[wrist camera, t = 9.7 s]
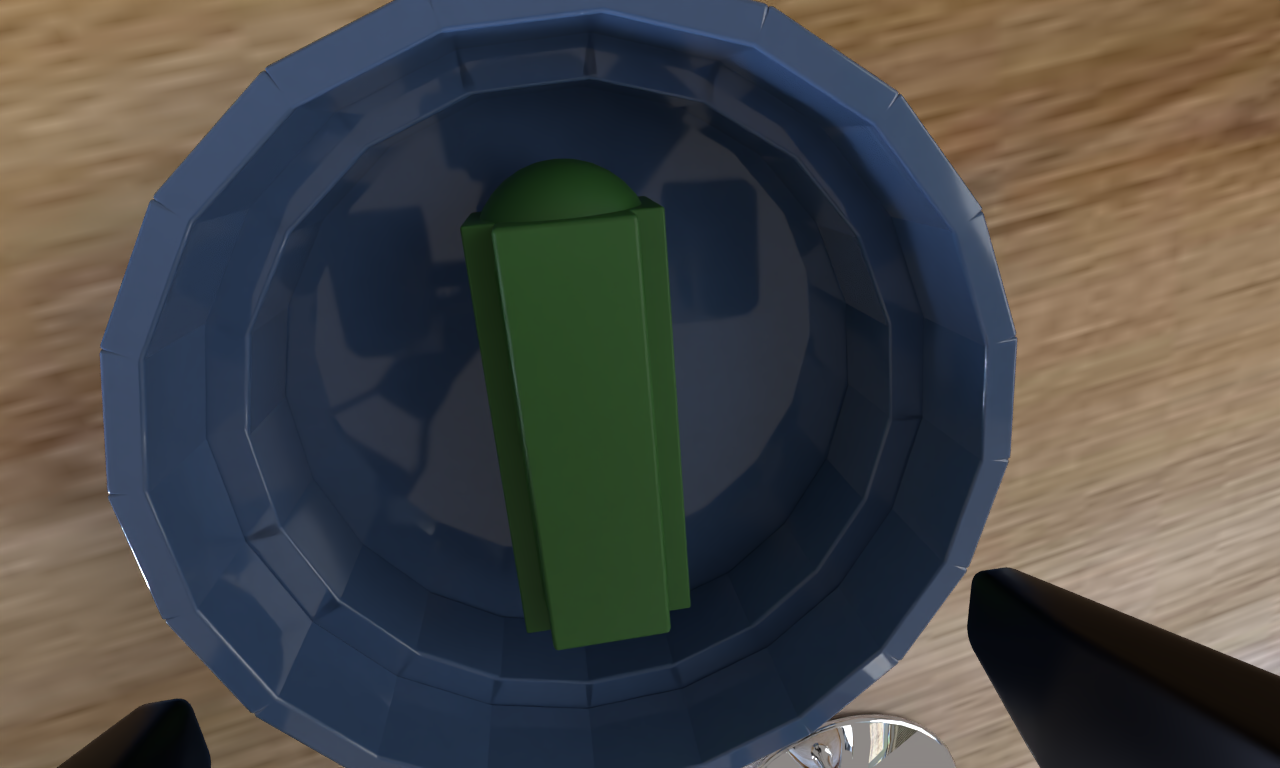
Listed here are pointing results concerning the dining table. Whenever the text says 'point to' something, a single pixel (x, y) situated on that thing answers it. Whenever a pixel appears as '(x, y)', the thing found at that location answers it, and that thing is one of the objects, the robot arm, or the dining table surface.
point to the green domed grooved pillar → (582, 399)
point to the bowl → (458, 402)
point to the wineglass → (865, 746)
